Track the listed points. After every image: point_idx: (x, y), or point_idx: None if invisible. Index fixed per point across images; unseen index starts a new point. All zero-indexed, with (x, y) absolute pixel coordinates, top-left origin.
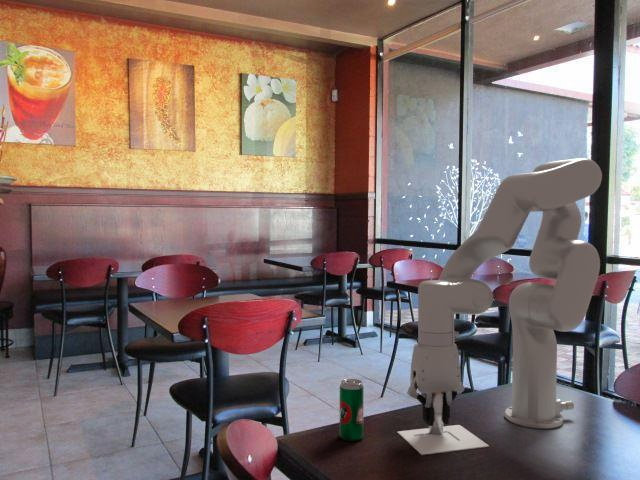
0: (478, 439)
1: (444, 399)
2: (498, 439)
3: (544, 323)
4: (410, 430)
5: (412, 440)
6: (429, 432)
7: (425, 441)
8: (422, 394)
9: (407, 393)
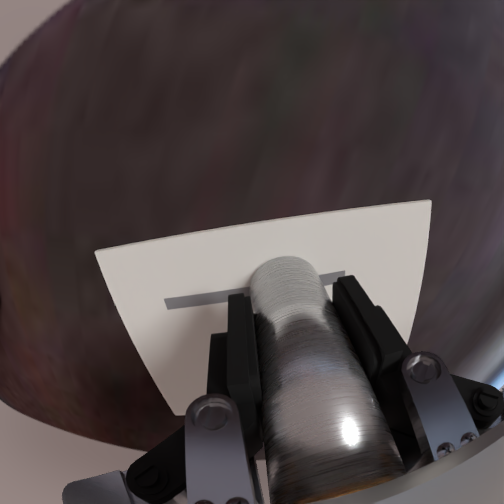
0: None
1: (399, 413)
2: (451, 328)
3: None
4: (158, 245)
5: (154, 345)
6: (249, 290)
7: (205, 357)
8: (200, 486)
9: (67, 491)
